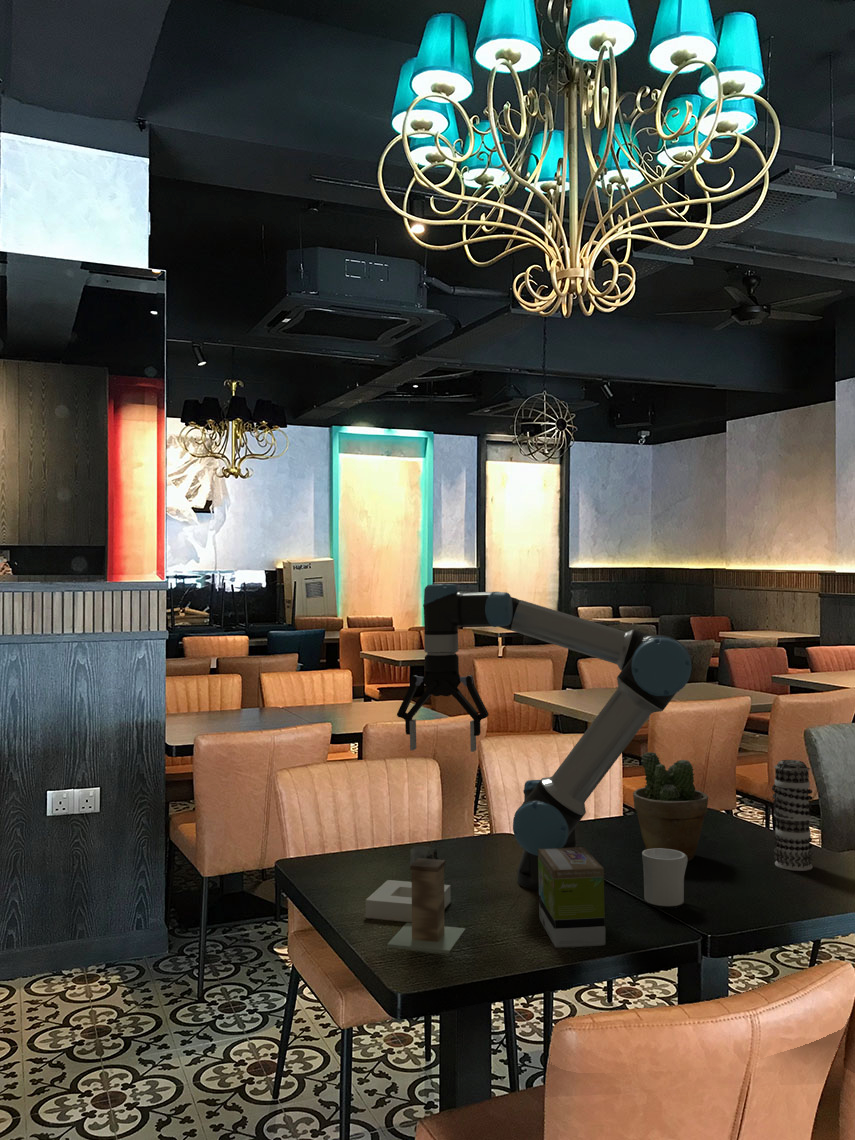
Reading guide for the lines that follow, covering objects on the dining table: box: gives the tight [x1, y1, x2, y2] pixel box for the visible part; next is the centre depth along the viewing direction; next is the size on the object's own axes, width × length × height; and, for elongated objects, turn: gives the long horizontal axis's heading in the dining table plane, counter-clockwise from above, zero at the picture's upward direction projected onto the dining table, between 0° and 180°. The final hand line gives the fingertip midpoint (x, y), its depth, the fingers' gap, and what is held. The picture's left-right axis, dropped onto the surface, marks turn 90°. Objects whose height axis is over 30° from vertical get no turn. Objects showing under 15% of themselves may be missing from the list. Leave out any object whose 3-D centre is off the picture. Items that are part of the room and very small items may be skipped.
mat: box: [386, 922, 467, 955], centre depth 178 cm, size 12×12×1 cm
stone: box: [409, 845, 440, 872], centre depth 212 cm, size 10×10×10 cm
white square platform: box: [365, 879, 452, 923], centre depth 194 cm, size 14×14×4 cm
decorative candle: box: [771, 759, 814, 872], centre depth 226 cm, size 9×9×25 cm
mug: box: [641, 848, 689, 909], centre depth 200 cm, size 11×9×10 cm
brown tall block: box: [409, 858, 446, 942], centre depth 178 cm, size 5×5×14 cm
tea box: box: [538, 846, 606, 948], centre depth 181 cm, size 15×10×15 cm, turn 5°
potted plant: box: [632, 751, 709, 862], centre depth 235 cm, size 18×19×25 cm
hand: (443, 750), depth 207 cm, fingers open, 13 cm apart
